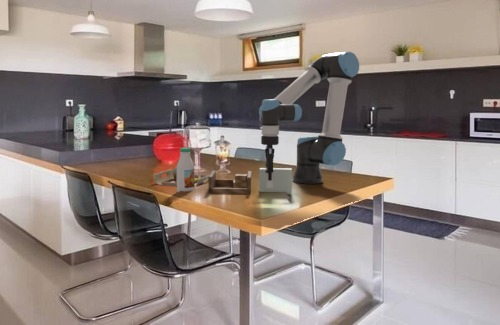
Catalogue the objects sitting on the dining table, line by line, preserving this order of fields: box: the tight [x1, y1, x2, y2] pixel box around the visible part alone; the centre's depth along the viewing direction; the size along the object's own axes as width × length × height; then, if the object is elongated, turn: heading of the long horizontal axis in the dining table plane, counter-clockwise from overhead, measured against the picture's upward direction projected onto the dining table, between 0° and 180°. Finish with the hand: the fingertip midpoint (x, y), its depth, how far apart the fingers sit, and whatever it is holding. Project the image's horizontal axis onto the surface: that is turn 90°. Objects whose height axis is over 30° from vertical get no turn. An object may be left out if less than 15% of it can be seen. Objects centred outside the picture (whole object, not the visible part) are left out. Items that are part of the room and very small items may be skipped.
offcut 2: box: [233, 180, 247, 188], centre depth 181 cm, size 6×5×3 cm
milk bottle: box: [176, 147, 195, 193], centre depth 175 cm, size 8×8×20 cm
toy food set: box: [152, 166, 210, 187], centre depth 198 cm, size 25×18×8 cm
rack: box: [207, 170, 252, 195], centre depth 177 cm, size 18×16×8 cm
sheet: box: [258, 167, 293, 195], centre depth 175 cm, size 14×4×11 cm, turn 89°
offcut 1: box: [234, 173, 248, 183], centre depth 180 cm, size 5×4×3 cm
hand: (269, 184), depth 175 cm, fingers open, 11 cm apart
